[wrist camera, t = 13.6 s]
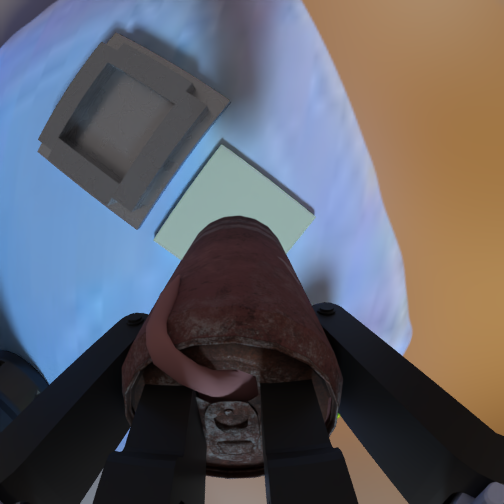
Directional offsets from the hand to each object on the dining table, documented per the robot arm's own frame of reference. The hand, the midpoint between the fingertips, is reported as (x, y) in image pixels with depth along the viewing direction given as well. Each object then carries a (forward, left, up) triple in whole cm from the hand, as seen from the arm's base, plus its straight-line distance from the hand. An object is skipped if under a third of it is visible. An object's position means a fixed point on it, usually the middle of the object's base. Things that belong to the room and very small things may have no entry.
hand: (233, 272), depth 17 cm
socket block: (+2, +16, -14) cm, 21 cm away
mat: (0, 0, -14) cm, 14 cm away
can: (0, 0, -3) cm, 3 cm away
